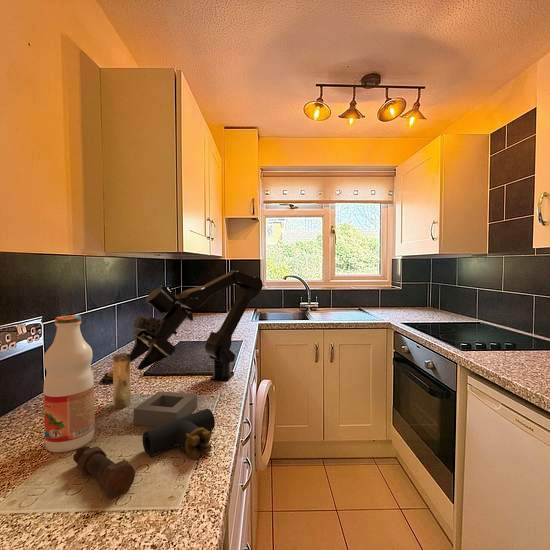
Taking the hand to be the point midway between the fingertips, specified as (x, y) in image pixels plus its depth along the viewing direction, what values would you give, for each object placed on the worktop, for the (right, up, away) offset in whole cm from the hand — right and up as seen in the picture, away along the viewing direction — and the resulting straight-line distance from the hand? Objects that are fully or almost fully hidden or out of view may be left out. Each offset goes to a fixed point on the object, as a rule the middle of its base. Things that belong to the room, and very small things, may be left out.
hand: (133, 365), depth 92 cm
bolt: (+8, -12, -32) cm, 36 cm away
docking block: (+13, -11, -9) cm, 19 cm away
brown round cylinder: (-2, -11, -2) cm, 11 cm away
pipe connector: (+22, -12, -22) cm, 33 cm away
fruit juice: (-5, -11, -21) cm, 24 cm away
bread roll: (-15, -11, +19) cm, 26 cm away
